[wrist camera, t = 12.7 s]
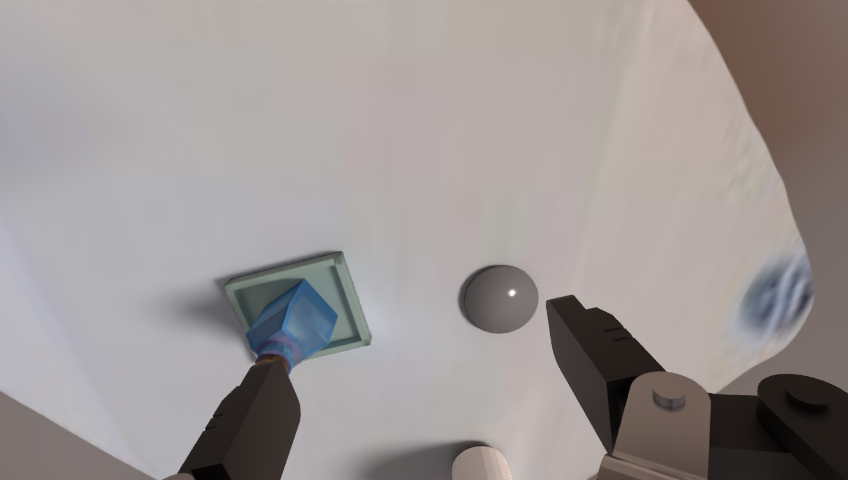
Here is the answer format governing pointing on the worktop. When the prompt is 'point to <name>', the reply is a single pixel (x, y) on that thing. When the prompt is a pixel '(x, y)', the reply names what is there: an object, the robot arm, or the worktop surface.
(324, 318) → the perfume bottle
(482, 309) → the grey domed puck
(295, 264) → the tray
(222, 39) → the worktop surface
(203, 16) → the worktop surface
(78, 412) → the worktop surface
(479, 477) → the cup
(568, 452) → the worktop surface
